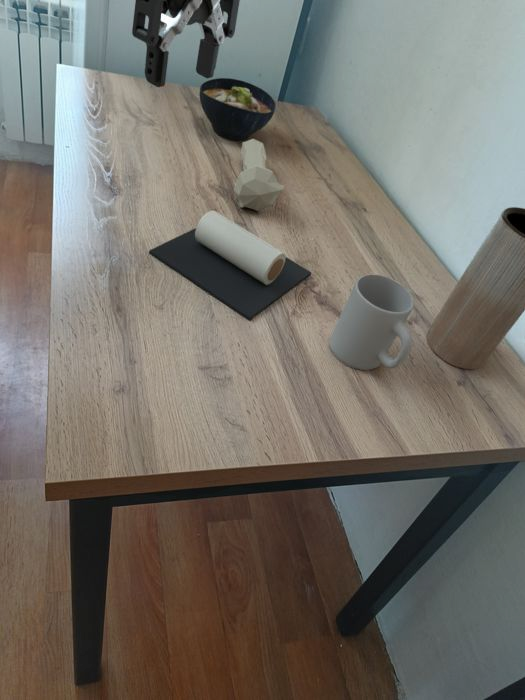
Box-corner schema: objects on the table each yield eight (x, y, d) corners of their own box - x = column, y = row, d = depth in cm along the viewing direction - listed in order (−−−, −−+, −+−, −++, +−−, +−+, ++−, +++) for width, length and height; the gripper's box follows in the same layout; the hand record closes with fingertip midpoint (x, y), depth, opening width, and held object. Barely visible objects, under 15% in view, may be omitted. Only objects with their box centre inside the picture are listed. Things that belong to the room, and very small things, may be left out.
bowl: (184, 133, 118) (191, 86, 111) (206, 109, 131) (214, 66, 124) (257, 158, 118) (269, 113, 112) (273, 132, 131) (284, 90, 124)
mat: (148, 253, 84) (149, 250, 84) (219, 219, 96) (220, 216, 96) (249, 320, 79) (250, 317, 78) (310, 275, 91) (311, 272, 91)
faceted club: (225, 208, 98) (225, 153, 116) (265, 228, 101) (259, 172, 120) (248, 166, 93) (244, 116, 111) (290, 188, 96) (280, 137, 115)
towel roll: (261, 289, 83) (273, 258, 80) (190, 244, 87) (199, 212, 84) (278, 280, 87) (291, 250, 84) (210, 237, 91) (220, 207, 88)
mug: (317, 335, 80) (343, 276, 73) (361, 325, 84) (389, 270, 77) (363, 394, 74) (397, 337, 66) (408, 381, 78) (444, 326, 70)
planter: (418, 322, 89) (491, 200, 74) (471, 330, 91) (553, 213, 76) (436, 366, 82) (521, 241, 67) (493, 373, 84) (588, 254, 69)
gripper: (185, -92, 45) (162, 102, 56) (276, -79, 55) (242, 85, 66) (121, -119, 47) (111, 73, 58) (220, -101, 57) (195, 61, 68)
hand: (180, 79), depth 62 cm, fingers open, 8 cm apart
